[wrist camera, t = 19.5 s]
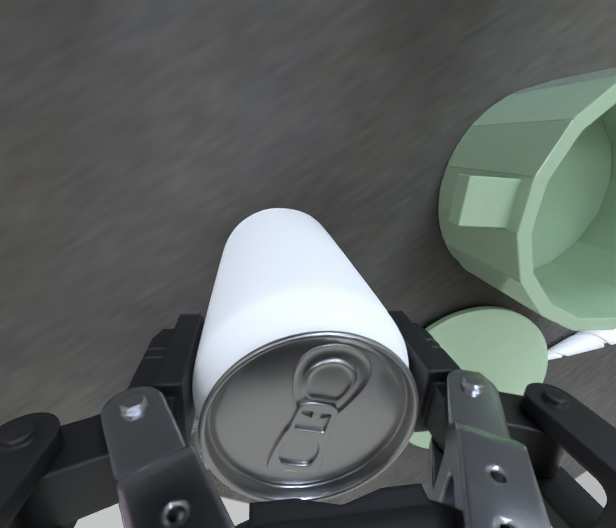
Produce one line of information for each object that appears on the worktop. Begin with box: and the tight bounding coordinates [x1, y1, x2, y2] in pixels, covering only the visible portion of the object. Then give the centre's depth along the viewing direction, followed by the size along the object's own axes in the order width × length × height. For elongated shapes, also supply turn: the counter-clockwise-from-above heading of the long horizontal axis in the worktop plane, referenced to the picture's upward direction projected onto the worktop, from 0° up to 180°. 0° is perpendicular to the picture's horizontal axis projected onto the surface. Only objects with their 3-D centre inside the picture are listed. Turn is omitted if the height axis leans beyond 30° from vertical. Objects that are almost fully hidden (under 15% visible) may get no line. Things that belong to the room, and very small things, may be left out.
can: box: [192, 208, 419, 501], centre depth 14 cm, size 6×6×12 cm
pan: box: [438, 67, 616, 331], centre depth 20 cm, size 14×19×8 cm
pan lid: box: [409, 306, 548, 449], centre depth 26 cm, size 15×15×6 cm
